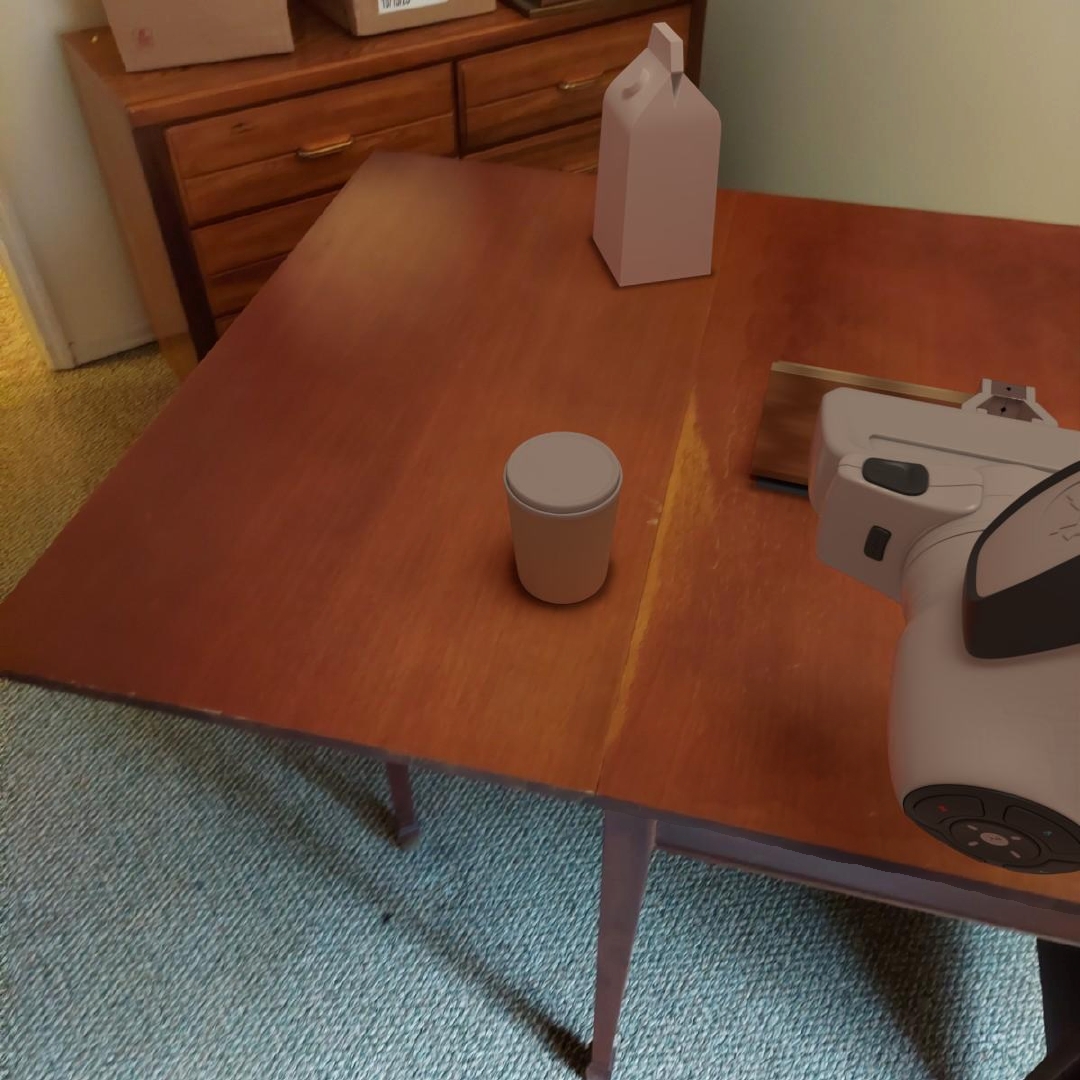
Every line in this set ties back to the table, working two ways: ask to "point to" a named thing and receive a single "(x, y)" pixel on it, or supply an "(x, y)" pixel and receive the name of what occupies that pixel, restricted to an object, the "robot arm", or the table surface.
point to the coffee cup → (562, 513)
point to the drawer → (797, 407)
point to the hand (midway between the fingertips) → (1003, 391)
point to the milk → (657, 169)
